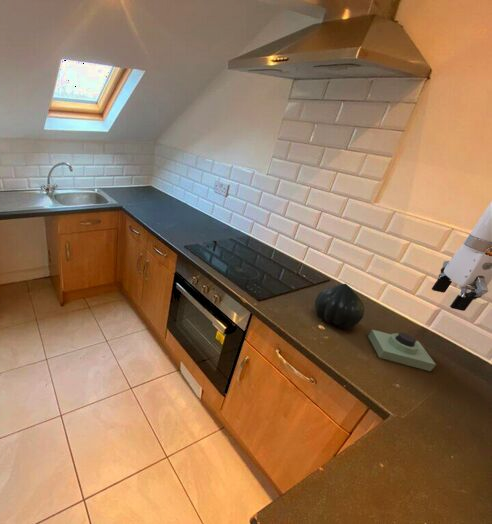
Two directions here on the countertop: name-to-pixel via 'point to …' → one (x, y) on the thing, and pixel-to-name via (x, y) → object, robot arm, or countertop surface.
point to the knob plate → (400, 351)
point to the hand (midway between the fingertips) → (446, 299)
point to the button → (406, 339)
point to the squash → (339, 306)
